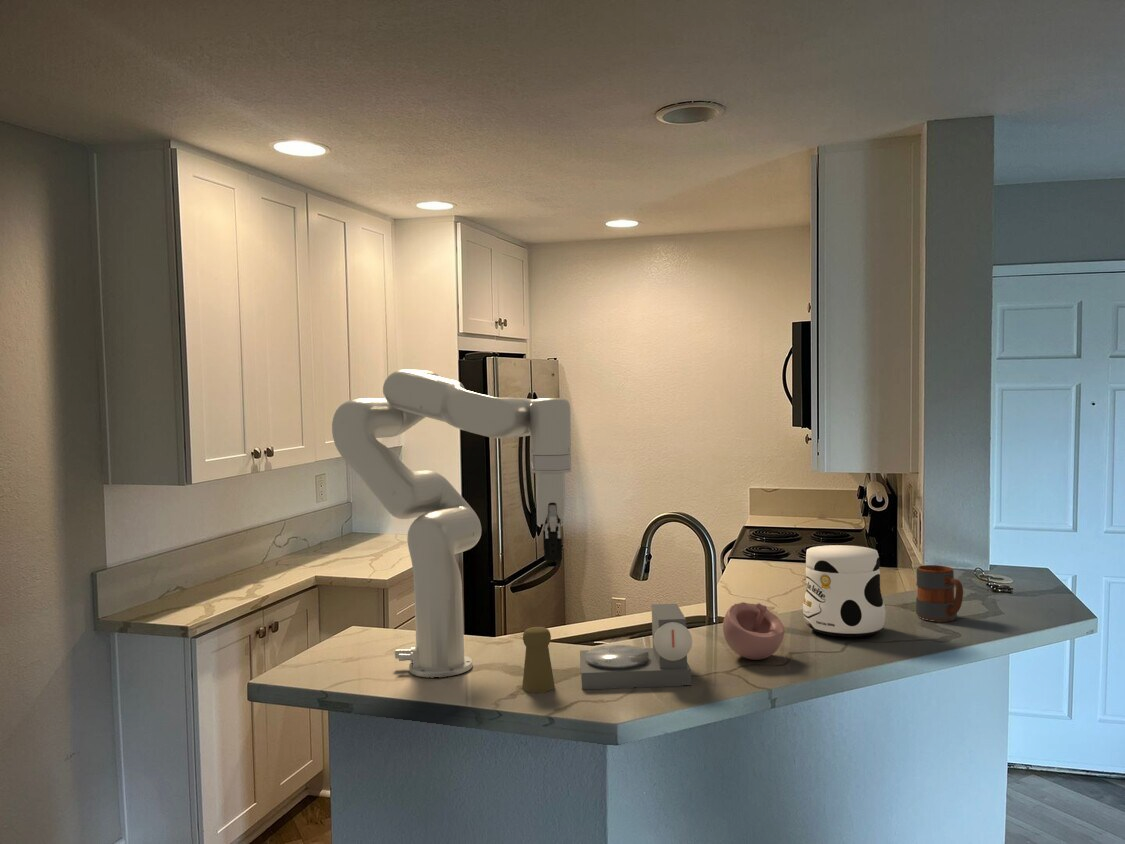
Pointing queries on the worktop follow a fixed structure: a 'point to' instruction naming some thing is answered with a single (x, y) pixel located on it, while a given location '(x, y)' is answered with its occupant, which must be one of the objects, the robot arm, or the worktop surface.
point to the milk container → (843, 591)
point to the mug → (938, 593)
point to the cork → (537, 661)
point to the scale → (650, 657)
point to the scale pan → (617, 657)
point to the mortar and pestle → (752, 630)
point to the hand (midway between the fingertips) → (552, 555)
